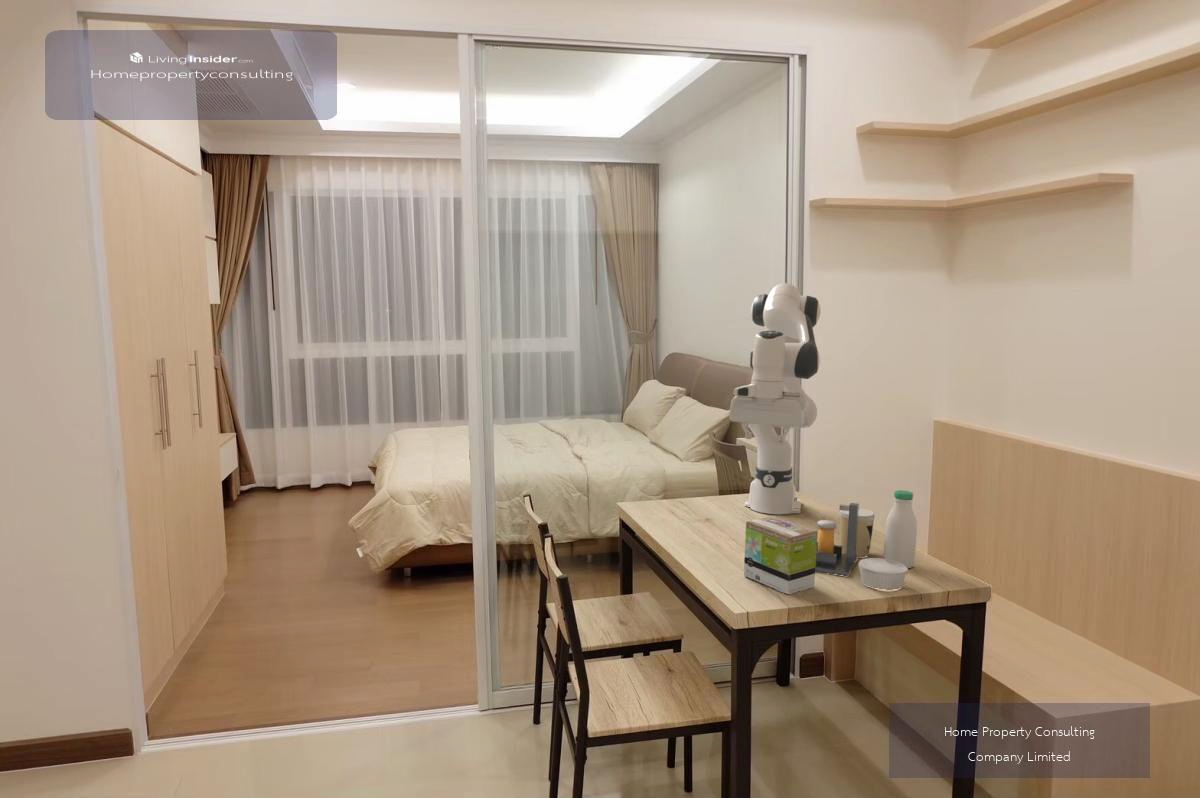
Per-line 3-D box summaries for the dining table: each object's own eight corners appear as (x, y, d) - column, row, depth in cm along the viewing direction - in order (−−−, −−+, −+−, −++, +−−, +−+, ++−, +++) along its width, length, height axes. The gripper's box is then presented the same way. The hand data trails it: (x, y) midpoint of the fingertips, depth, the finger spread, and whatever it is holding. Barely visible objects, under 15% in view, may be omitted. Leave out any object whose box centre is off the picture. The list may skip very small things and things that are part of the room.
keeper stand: (815, 553, 214) (819, 492, 212) (858, 560, 209) (862, 498, 207) (803, 569, 201) (807, 505, 199) (849, 577, 196) (853, 511, 194)
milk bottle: (916, 571, 201) (922, 496, 199) (885, 568, 203) (890, 494, 200) (911, 561, 209) (916, 489, 206) (881, 559, 210) (886, 487, 208)
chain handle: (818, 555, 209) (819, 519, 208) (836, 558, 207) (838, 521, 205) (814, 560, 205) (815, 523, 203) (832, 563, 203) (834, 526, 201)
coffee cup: (874, 560, 209) (877, 517, 208) (838, 557, 211) (841, 514, 210) (869, 549, 219) (871, 508, 217) (834, 547, 220) (837, 506, 219)
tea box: (742, 577, 195) (744, 520, 193) (769, 569, 200) (772, 514, 199) (788, 596, 183) (791, 535, 181) (815, 588, 188) (819, 529, 186)
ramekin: (915, 588, 189) (917, 568, 189) (886, 597, 183) (888, 576, 183) (877, 574, 199) (878, 554, 198) (848, 582, 193) (849, 562, 192)
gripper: (808, 392, 209) (805, 442, 211) (735, 387, 218) (733, 435, 220) (803, 394, 204) (800, 446, 205) (728, 389, 213) (726, 438, 215)
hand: (765, 440), depth 213 cm, fingers open, 8 cm apart
